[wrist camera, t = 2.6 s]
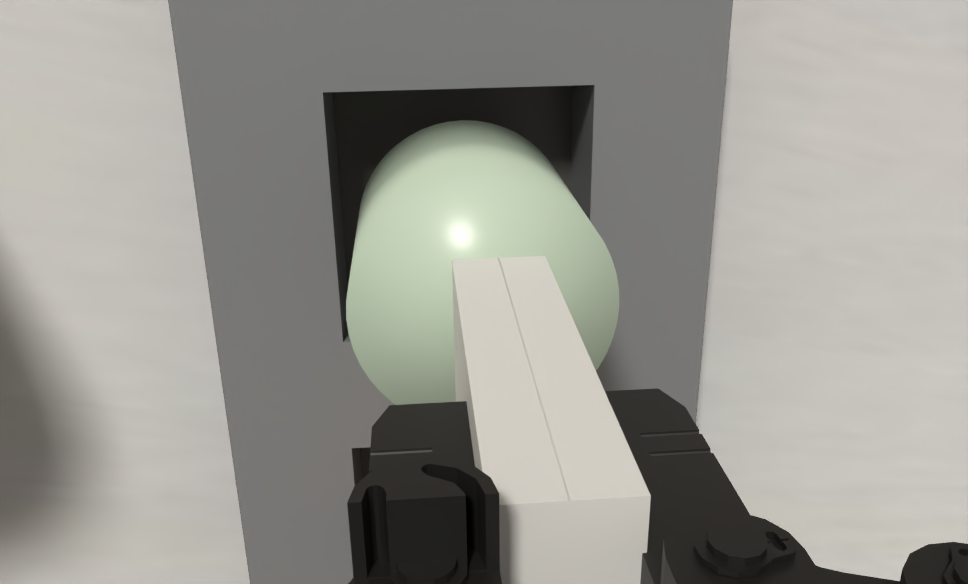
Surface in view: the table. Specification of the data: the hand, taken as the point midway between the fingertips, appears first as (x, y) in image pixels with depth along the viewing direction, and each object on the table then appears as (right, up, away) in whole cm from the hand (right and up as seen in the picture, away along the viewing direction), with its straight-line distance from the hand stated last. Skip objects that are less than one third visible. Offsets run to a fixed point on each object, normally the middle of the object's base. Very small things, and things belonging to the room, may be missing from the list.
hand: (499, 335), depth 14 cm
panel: (-1, -5, +12) cm, 13 cm away
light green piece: (-1, +2, +6) cm, 6 cm away
